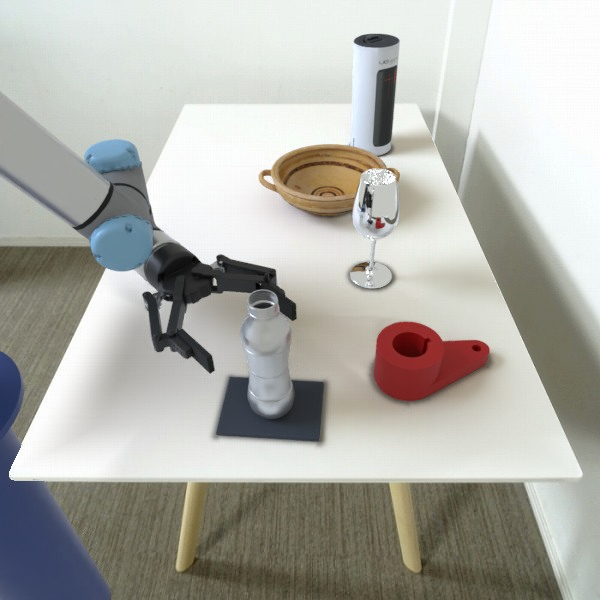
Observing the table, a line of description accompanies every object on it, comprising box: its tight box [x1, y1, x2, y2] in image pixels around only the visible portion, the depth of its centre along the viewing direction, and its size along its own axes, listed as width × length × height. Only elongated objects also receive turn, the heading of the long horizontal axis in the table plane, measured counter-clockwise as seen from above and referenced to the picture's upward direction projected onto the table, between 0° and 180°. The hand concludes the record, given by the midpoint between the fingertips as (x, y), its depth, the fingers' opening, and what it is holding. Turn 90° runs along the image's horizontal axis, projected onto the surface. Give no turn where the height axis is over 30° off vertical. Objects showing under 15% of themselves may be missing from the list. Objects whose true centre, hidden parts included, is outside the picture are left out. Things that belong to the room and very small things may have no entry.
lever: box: [373, 321, 491, 402], centre depth 80 cm, size 18×9×7 cm, turn 106°
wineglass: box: [349, 168, 400, 290], centre depth 93 cm, size 8×8×20 cm
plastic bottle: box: [239, 290, 295, 419], centre depth 71 cm, size 6×7×20 cm
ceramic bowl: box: [258, 143, 401, 217], centre depth 117 cm, size 30×24×8 cm
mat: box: [215, 376, 325, 442], centre depth 78 cm, size 14×10×1 cm
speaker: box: [349, 33, 401, 157], centre depth 130 cm, size 11×10×26 cm
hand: (254, 337), depth 70 cm, fingers open, 13 cm apart
